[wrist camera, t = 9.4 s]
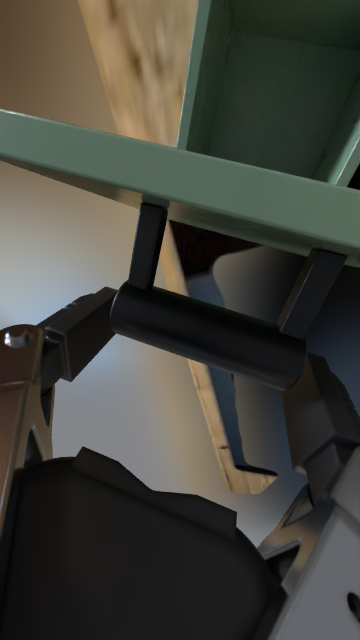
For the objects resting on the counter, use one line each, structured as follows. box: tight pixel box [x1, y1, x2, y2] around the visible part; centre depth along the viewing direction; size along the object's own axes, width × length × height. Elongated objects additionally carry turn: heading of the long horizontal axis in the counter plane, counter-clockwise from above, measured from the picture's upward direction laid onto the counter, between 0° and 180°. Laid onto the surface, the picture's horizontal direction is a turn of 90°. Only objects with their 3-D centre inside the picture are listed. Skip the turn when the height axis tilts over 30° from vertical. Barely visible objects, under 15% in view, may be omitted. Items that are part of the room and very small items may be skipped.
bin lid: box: [0, 108, 360, 391], centre depth 12 cm, size 16×13×5 cm
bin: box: [176, 0, 360, 187], centre depth 18 cm, size 15×13×10 cm
